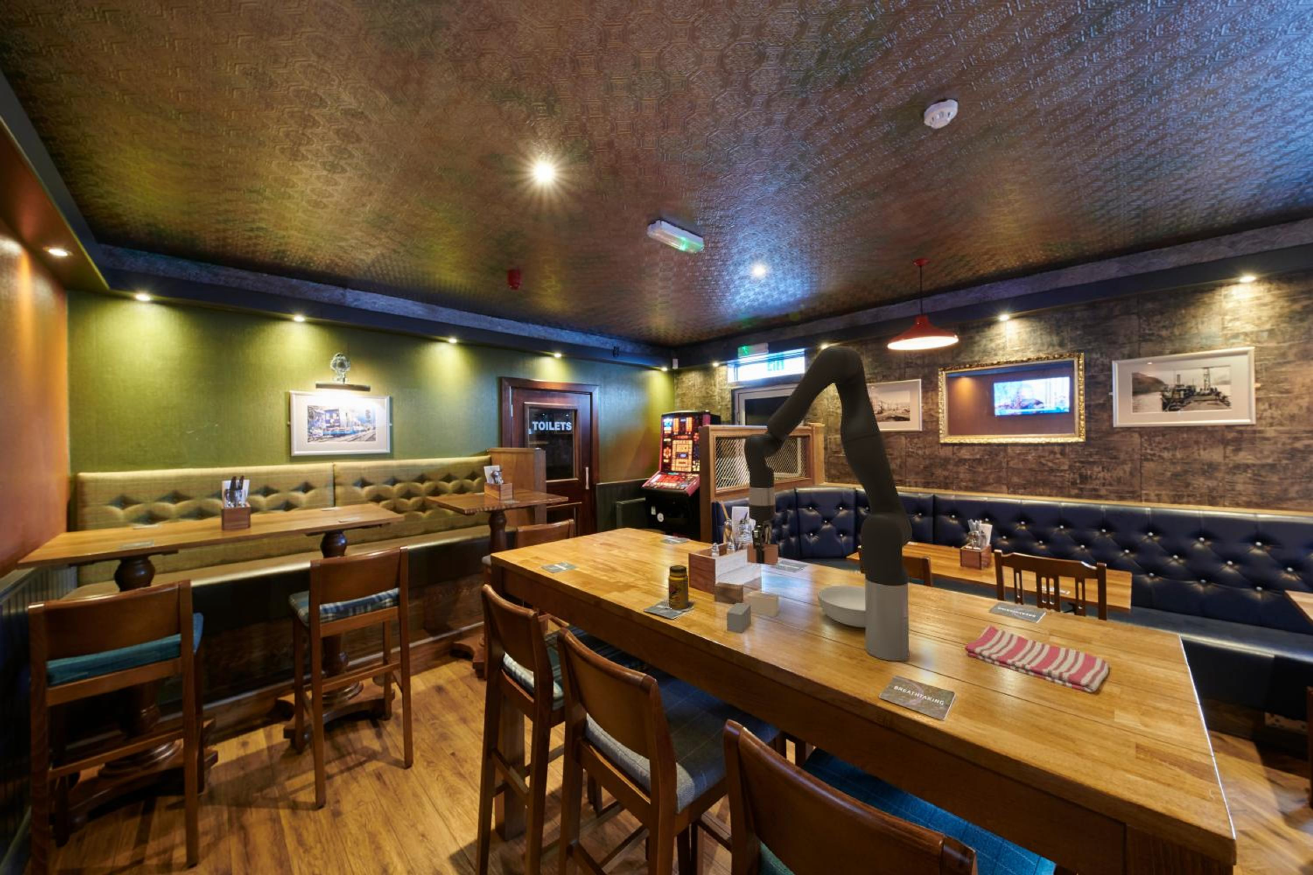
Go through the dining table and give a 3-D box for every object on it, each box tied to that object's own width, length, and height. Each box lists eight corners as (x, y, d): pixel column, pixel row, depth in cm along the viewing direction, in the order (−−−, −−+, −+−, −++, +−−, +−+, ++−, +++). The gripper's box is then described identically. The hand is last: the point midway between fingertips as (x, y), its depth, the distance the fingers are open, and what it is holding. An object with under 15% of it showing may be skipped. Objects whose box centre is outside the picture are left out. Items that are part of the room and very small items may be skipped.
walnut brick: (743, 601, 149) (743, 585, 149) (739, 605, 145) (738, 589, 145) (718, 597, 152) (718, 581, 152) (714, 601, 149) (714, 585, 149)
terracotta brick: (778, 562, 139) (777, 544, 139) (774, 565, 136) (774, 547, 136) (751, 559, 143) (751, 542, 143) (747, 562, 139) (746, 545, 139)
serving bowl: (915, 637, 122) (915, 610, 121) (832, 637, 122) (832, 610, 122) (879, 607, 142) (878, 584, 142) (808, 607, 143) (808, 584, 143)
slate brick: (736, 620, 134) (736, 602, 134) (750, 622, 132) (750, 604, 132) (727, 630, 127) (726, 612, 127) (741, 633, 125) (741, 614, 125)
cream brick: (778, 612, 139) (778, 595, 139) (775, 617, 136) (775, 599, 136) (751, 607, 143) (751, 591, 143) (747, 612, 140) (747, 595, 140)
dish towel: (986, 636, 123) (986, 623, 123) (1110, 670, 105) (1111, 654, 105) (963, 657, 112) (963, 642, 112) (1098, 699, 94) (1098, 681, 94)
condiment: (664, 609, 143) (663, 569, 143) (672, 599, 151) (672, 561, 151) (687, 611, 140) (687, 571, 140) (695, 602, 148) (694, 563, 148)
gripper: (768, 506, 131) (769, 569, 131) (780, 499, 144) (781, 556, 144) (741, 505, 135) (742, 566, 135) (756, 498, 147) (756, 554, 147)
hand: (762, 560), depth 139 cm, fingers closed on terracotta brick, 4 cm apart
